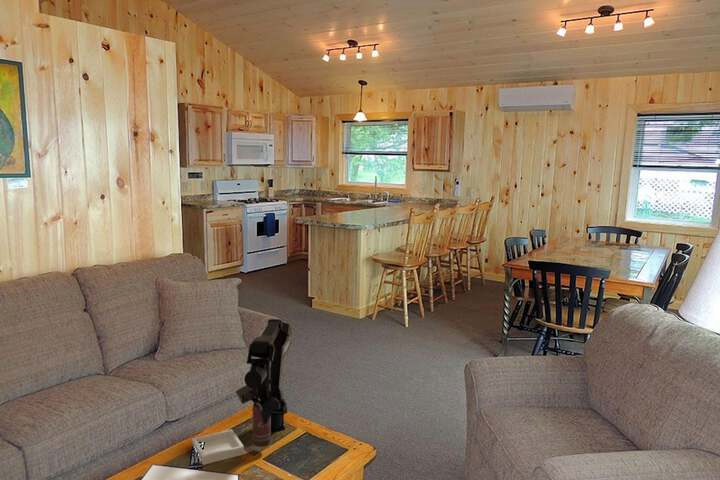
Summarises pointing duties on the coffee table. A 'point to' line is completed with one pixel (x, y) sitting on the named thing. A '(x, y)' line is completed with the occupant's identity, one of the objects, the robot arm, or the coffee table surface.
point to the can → (260, 428)
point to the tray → (218, 446)
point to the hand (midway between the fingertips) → (261, 420)
